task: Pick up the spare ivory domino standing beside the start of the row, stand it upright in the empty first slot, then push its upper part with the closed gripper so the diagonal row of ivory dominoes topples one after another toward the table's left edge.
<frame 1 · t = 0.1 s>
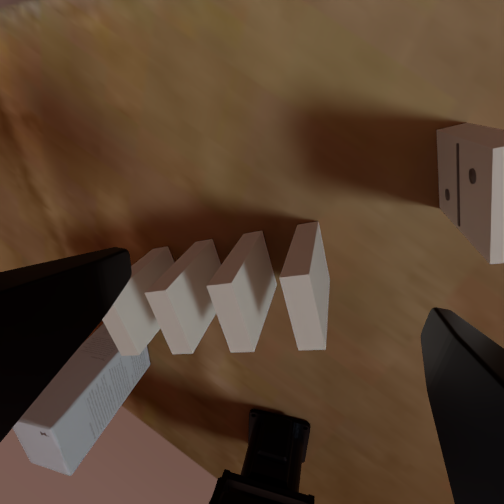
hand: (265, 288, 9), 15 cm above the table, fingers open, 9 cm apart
domino 2: (260, 259, 26), on the table
skincare box: (131, 340, 34), on the table
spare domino: (452, 168, 19), on the table
domino 3: (212, 266, 27), on the table
domino 1: (313, 252, 24), on the table
domino 4: (170, 272, 29), on the table
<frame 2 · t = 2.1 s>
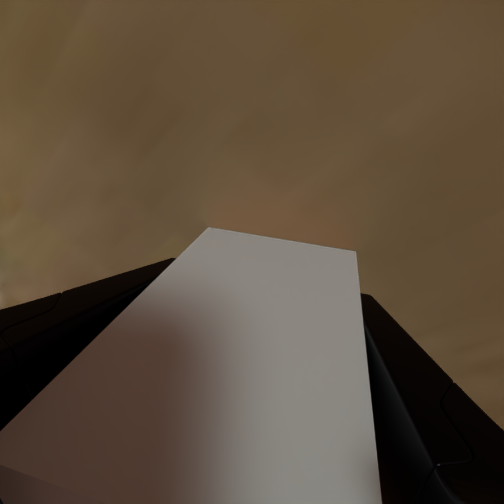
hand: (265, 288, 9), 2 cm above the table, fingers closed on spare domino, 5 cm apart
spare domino: (276, 259, 11), on the table, touching gripper
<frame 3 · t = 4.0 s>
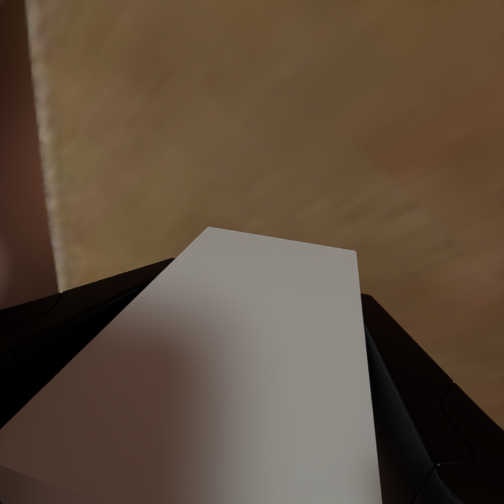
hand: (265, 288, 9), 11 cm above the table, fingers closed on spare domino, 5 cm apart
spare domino: (276, 259, 11), point 9 cm above the table, touching gripper
when the fingers open (2 cm above the table, at t = 5.8 s): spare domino stays where it is, on the table.
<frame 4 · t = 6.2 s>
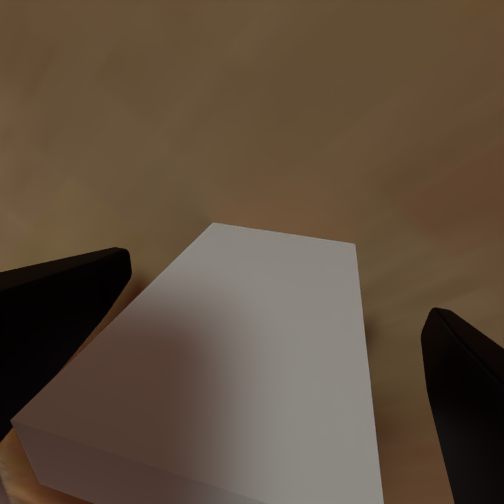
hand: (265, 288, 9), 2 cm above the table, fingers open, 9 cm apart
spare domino: (278, 253, 11), on the table
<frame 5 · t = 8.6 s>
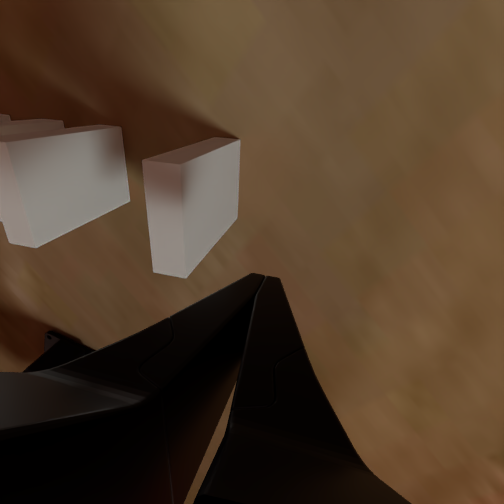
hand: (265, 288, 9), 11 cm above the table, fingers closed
domino 2: (61, 157, 22), on the table
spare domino: (226, 179, 20), on the table
domino 1: (115, 164, 21), on the table
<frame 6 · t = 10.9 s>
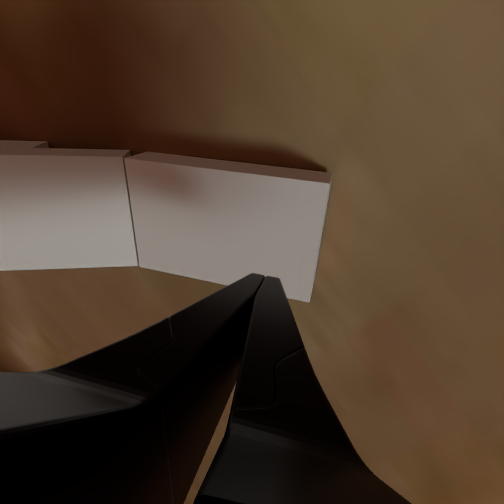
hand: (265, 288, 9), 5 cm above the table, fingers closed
domino 2: (53, 198, 15), point 1 cm above the table, tilted 65°, touching domino 1
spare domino: (320, 240, 12), point 1 cm above the table, tilted 92°
domino 1: (134, 209, 14), point 1 cm above the table, tilted 67°, touching domino 2
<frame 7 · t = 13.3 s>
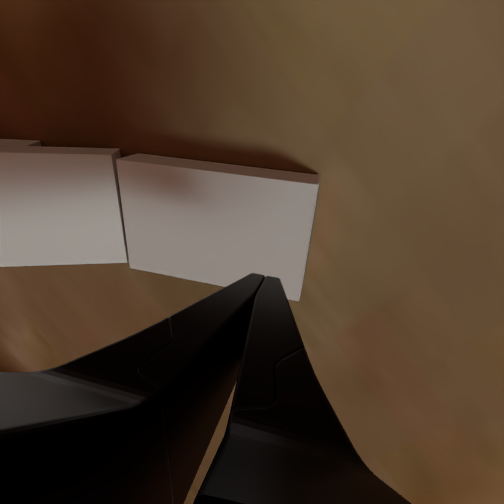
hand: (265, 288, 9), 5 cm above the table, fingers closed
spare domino: (309, 240, 13), point 1 cm above the table, tilted 90°
domino 1: (123, 207, 14), point 1 cm above the table, tilted 67°, touching domino 2
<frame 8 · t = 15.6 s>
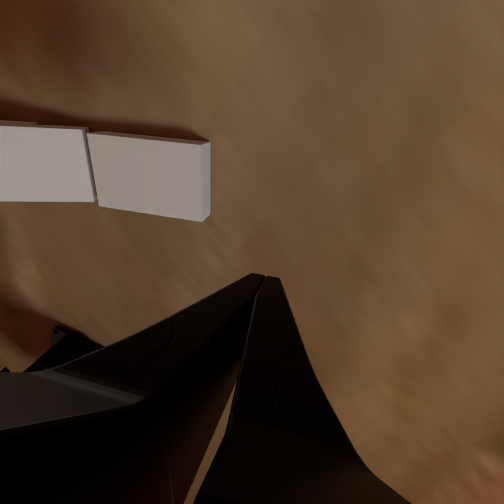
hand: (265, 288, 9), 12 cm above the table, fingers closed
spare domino: (205, 182, 21), point 1 cm above the table, tilted 90°
domino 1: (91, 165, 23), point 1 cm above the table, tilted 66°, touching domino 2
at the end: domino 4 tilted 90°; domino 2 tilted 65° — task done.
